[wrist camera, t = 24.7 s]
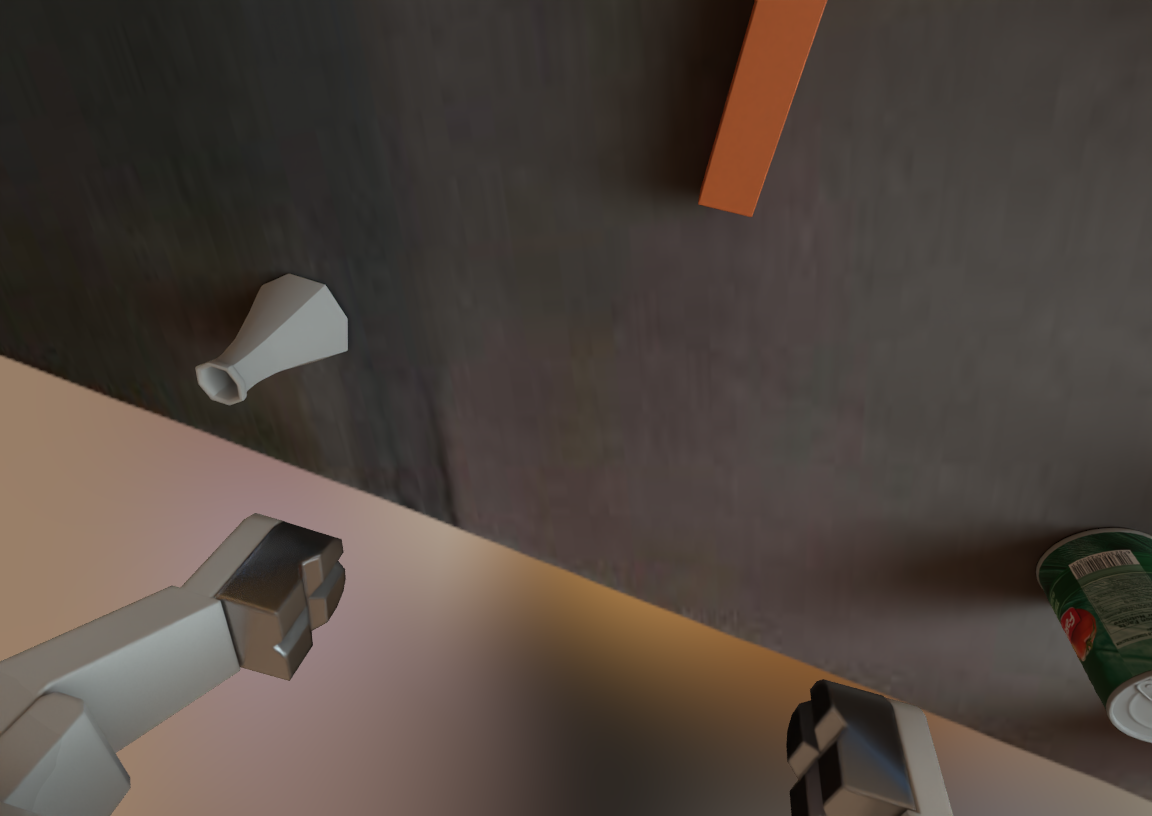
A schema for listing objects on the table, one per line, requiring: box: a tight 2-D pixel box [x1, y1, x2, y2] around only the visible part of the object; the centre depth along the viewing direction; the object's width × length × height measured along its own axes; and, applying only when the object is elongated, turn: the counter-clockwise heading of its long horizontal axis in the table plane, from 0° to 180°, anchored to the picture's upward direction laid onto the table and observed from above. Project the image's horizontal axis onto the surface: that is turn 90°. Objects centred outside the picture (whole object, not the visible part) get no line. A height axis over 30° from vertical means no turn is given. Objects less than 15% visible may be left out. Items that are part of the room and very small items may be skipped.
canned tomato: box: [1036, 528, 1152, 743], centre depth 40 cm, size 8×8×11 cm
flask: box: [195, 274, 348, 405], centre depth 43 cm, size 7×7×10 cm
